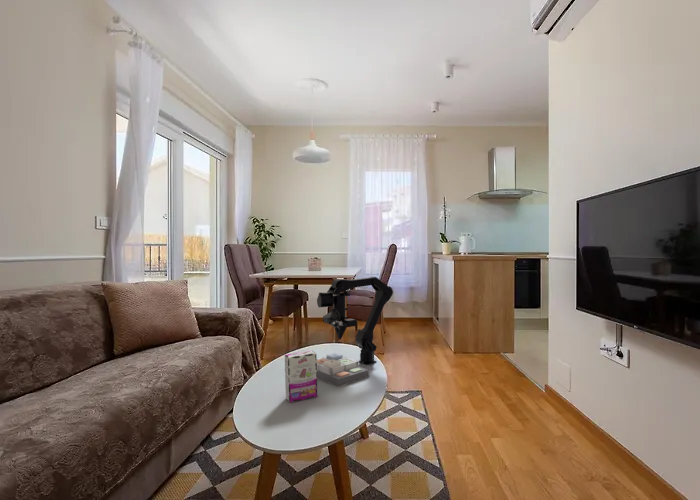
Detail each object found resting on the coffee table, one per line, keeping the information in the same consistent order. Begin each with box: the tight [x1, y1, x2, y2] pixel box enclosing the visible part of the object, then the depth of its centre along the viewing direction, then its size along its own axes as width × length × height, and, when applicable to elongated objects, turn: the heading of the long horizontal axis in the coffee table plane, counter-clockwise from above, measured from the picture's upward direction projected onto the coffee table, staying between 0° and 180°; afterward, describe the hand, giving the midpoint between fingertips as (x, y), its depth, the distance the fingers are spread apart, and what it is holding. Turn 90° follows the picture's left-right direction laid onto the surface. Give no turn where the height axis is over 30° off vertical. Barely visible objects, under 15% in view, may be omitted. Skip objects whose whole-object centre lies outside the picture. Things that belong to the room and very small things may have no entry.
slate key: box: [326, 352, 344, 360], centre depth 168 cm, size 5×5×2 cm
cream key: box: [324, 359, 341, 368], centre depth 158 cm, size 5×5×2 cm
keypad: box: [317, 356, 370, 387], centre depth 161 cm, size 17×22×6 cm
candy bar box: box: [284, 350, 318, 403], centre depth 137 cm, size 11×5×16 cm, turn 117°
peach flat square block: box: [317, 359, 328, 364], centre depth 163 cm, size 5×5×2 cm
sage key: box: [339, 359, 353, 364], centre depth 163 cm, size 5×5×2 cm
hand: (339, 339), depth 173 cm, fingers closed
